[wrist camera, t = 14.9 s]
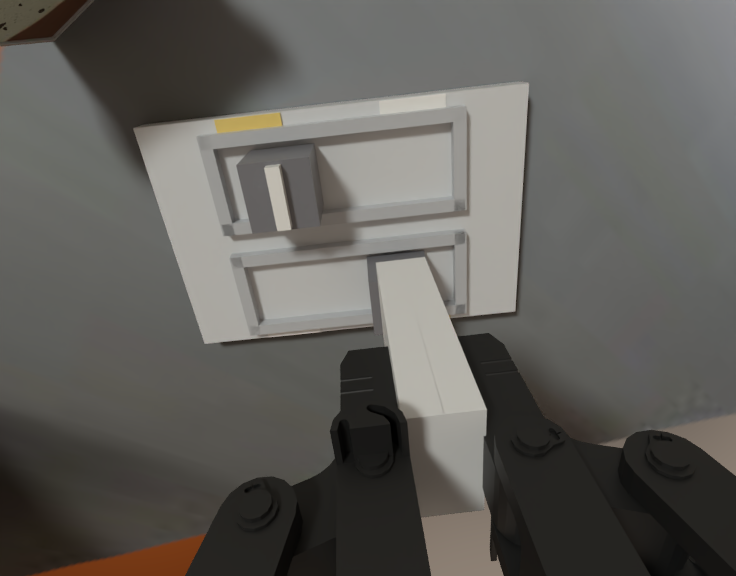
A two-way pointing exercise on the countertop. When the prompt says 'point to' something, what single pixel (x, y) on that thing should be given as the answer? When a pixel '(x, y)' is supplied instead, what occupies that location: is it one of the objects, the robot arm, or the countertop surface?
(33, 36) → the food container
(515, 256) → the switch board
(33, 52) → the countertop surface
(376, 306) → the tab
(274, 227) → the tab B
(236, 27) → the countertop surface
